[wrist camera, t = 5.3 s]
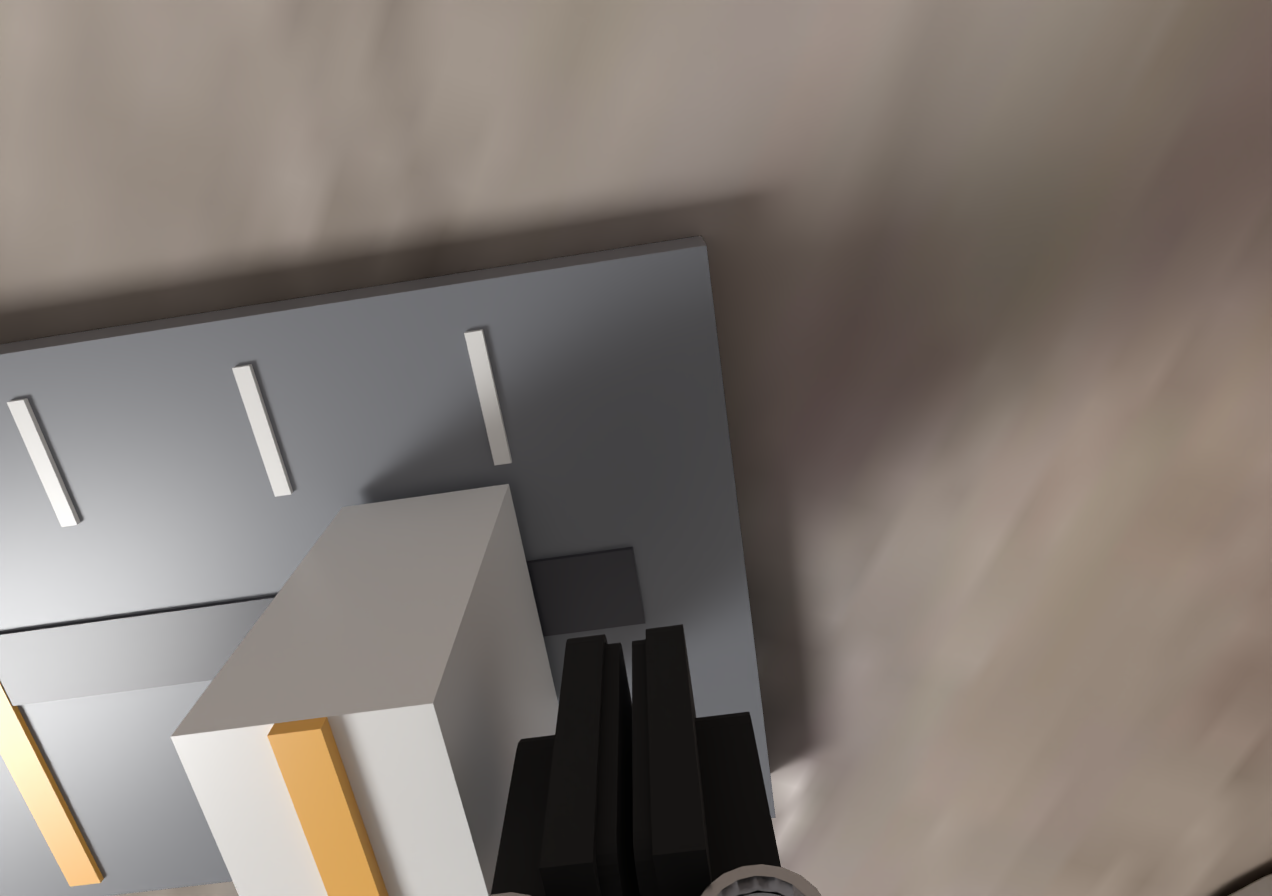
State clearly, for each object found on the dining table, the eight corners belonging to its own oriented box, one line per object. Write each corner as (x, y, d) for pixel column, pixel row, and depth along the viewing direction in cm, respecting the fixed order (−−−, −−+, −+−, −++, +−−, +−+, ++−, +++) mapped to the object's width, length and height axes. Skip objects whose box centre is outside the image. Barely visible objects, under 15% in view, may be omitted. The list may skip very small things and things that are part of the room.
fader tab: (508, 483, 15) (429, 715, 9) (560, 715, 17) (521, 1030, 11) (342, 507, 15) (160, 748, 9) (411, 734, 17) (294, 1054, 11)
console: (700, 235, 15) (719, 270, 12) (767, 776, 19) (794, 916, 16) (-461, 416, 16) (-749, 494, 13) (-154, 887, 20) (-310, 1039, 17)
